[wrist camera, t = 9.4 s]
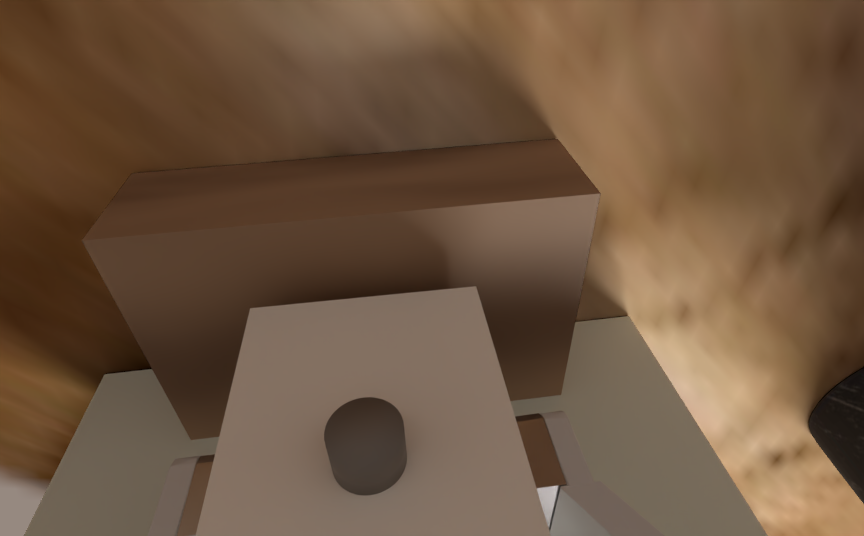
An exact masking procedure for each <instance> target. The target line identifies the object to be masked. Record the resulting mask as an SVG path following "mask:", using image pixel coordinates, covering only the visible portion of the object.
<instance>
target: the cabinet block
mask: <svg viewBox="0 0 864 536" xmlns="http://www.w3.org/2000/svg"><path fill="white" fill-rule="evenodd" d="M196 536H551V535H550V532H549V529H548V525H547V522H546V518H545V515H544V512H543V508H542V505H541V502H540V498H539V495H538V492H537V488H536V485H535V482H534V478H533V475H532V472H531V468H530V465H529V462H528V458H527V455H526V452H525V448H524V445H523V442H522V438H521V435H520V431H519V428H518V425H517V421H516V418H515V415H514V411H513V408H512V405H511V401H510V398H509V395H508V391H507V388H506V385H505V381H504V378H503V375H502V371H501V368H500V365H499V361H498V358H497V355H496V351H495V348H494V344H493V341H492V338H491V334H490V331H489V328H488V324H487V321H486V318H485V314H484V311H483V308H482V304H481V301H480V298H479V294H478V291H477V288H476V286H473V287H463V288H453V289H443V290H432V291H422V292H412V293H402V294H391V295H381V296H371V297H361V298H350V299H340V300H330V301H320V302H309V303H299V304H289V305H279V306H268V307H258V308H250V311H249V315H248V319H247V324H246V328H245V332H244V336H243V340H242V344H241V348H240V353H239V357H238V361H237V365H236V369H235V373H234V378H233V382H232V386H231V390H230V394H229V398H228V403H227V407H226V411H225V415H224V419H223V423H222V428H221V432H220V436H219V440H218V444H217V448H216V453H215V457H214V461H213V465H212V469H211V473H210V478H209V482H208V486H207V490H206V494H205V498H204V503H203V507H202V511H201V515H200V519H199V523H198V528H197V532H196Z"/></svg>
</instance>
